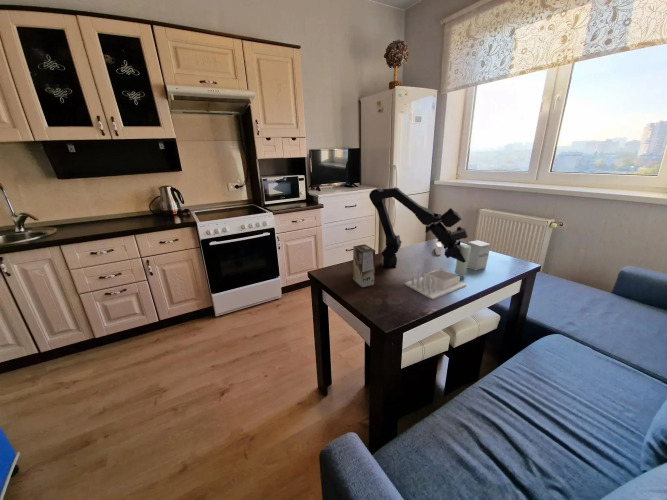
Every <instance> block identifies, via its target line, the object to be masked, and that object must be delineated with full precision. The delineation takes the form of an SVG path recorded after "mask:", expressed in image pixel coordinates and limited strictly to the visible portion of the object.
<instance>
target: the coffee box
mask: <svg viewBox="0 0 667 500" xmlns="http://www.w3.org/2000/svg"><path fill="white" fill-rule="evenodd" d="M352 248H353V249H352V257H353V258H352V259H353V260H352V263H353V264H352V279H353V281H354V282H355V283H356V284H358V285H359V287H361V288H365V287H370V286H374V285H375V269H376V268H375V266H376V250H375V249H374V248H372V247H370V246H369V245H367V244H365V243H364V244H357V245H354V246H353V247H352Z"/></svg>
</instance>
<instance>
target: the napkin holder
mask: <svg viewBox="0 0 667 500" xmlns="http://www.w3.org/2000/svg"><path fill="white" fill-rule="evenodd" d="M434 249H435V250H434V251H435V255H436V256H441V255H442V251H443V245H442V244H441V242H438V239H437V240H436V243H435V248H434Z"/></svg>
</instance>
